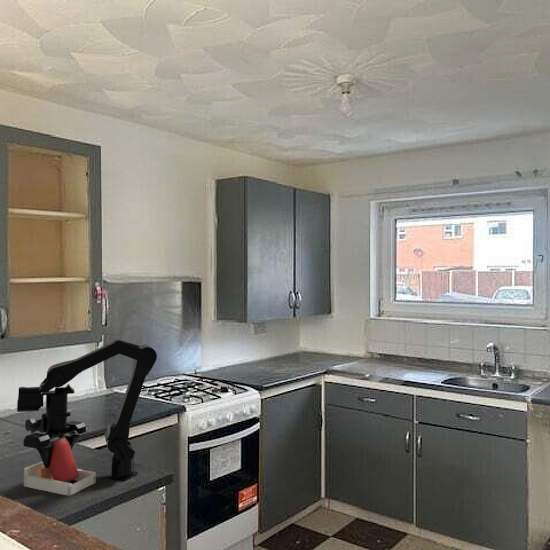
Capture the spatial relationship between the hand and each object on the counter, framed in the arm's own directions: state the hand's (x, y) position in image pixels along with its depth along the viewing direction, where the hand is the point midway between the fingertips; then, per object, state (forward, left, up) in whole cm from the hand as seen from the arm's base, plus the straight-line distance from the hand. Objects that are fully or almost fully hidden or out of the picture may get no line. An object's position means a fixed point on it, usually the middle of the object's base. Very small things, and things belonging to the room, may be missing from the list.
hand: (55, 464), depth 161 cm
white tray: (0, +1, -6) cm, 6 cm away
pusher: (0, -2, -6) cm, 6 cm away
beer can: (0, +4, -4) cm, 6 cm away
